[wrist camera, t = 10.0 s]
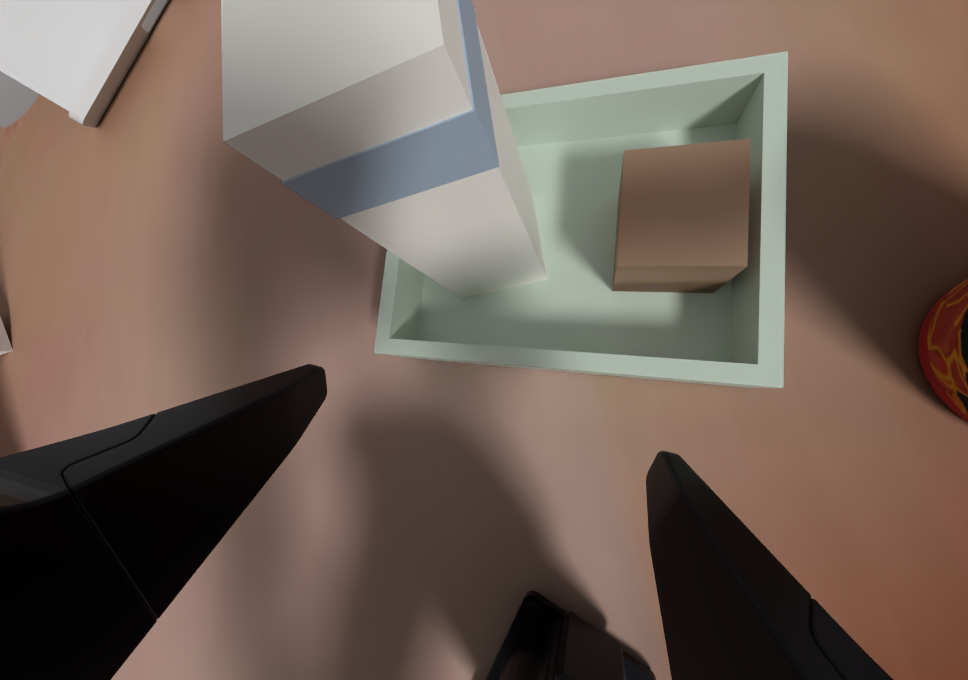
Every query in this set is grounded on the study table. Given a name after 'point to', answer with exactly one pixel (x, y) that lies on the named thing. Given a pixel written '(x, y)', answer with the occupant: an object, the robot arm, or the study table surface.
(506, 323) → the pale green tray
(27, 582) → the robot arm
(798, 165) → the study table surface
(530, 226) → the carton
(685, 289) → the walnut block
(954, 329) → the canned food
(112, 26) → the tablet stand
